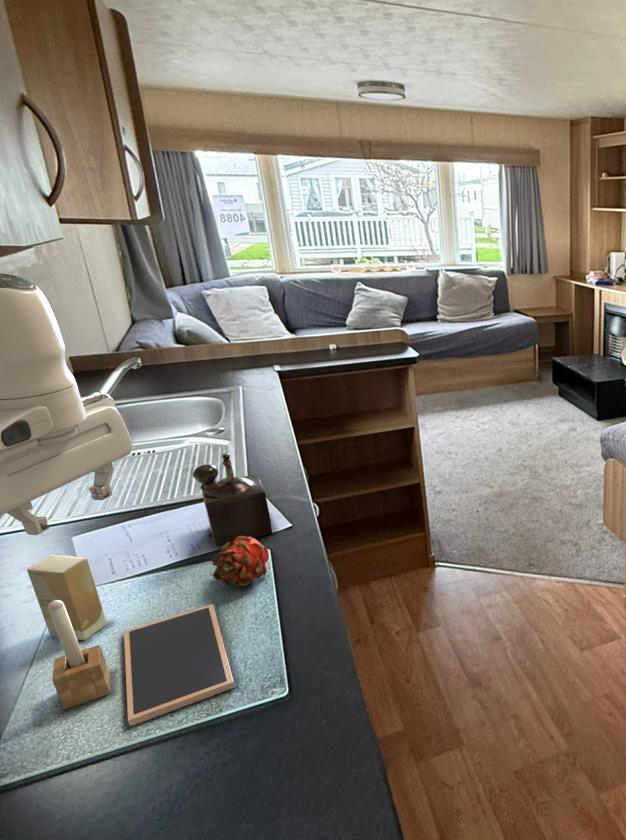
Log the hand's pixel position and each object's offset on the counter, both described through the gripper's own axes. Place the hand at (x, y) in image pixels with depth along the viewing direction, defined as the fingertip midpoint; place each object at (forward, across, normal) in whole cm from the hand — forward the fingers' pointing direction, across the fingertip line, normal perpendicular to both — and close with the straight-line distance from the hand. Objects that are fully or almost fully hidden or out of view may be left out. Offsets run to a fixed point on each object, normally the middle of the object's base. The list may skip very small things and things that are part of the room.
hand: (72, 514), depth 83 cm
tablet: (+25, -3, +6) cm, 26 cm away
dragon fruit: (+25, -24, +2) cm, 35 cm away
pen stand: (+25, +4, -2) cm, 25 cm away
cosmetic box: (+25, -7, -14) cm, 30 cm away
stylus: (+25, +4, -2) cm, 25 cm away
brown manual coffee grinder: (+25, -38, -8) cm, 46 cm away
